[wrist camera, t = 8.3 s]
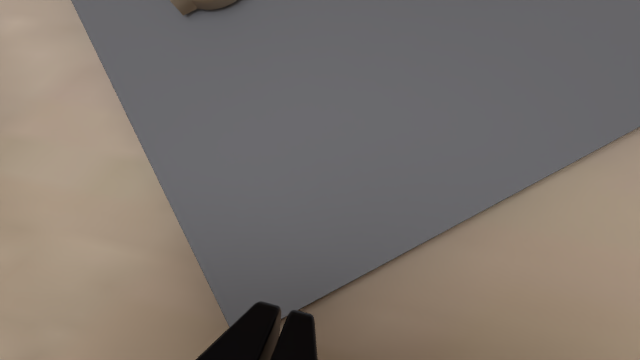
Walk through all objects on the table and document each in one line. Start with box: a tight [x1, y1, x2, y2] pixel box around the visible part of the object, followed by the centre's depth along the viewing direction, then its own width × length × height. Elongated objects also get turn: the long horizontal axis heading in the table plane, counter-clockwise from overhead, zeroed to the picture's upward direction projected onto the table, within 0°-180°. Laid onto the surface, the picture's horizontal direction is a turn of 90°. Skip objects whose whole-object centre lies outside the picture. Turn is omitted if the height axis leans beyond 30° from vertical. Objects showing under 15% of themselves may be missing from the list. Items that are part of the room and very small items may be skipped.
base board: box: [71, 0, 640, 327], centre depth 23 cm, size 22×19×1 cm
